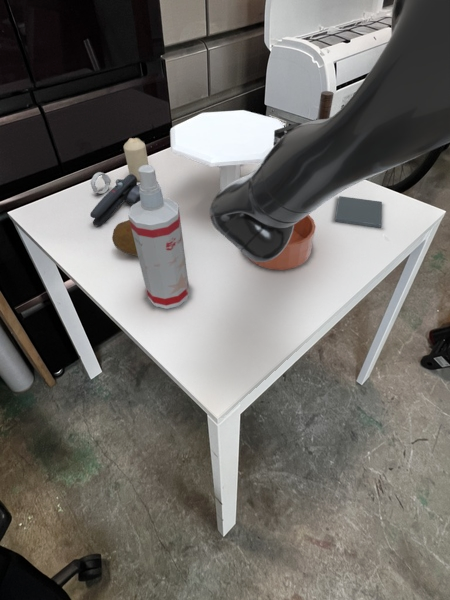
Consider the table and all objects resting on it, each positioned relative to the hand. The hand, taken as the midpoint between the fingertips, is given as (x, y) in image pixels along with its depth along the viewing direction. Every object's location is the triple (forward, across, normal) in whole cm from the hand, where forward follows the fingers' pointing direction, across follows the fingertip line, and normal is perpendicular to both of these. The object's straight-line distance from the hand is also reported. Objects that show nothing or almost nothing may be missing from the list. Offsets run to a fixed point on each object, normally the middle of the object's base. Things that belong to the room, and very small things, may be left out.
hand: (325, 124), depth 67 cm
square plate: (+11, -9, +23) cm, 27 cm away
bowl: (-9, +4, +23) cm, 25 cm away
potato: (-22, +29, +23) cm, 43 cm away
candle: (+4, +49, +23) cm, 54 cm away
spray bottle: (-31, +17, +23) cm, 42 cm away
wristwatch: (-7, +53, +23) cm, 58 cm away
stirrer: (-3, 0, +8) cm, 9 cm away
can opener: (-11, +44, +23) cm, 51 cm away
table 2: (+4, +22, +23) cm, 32 cm away
